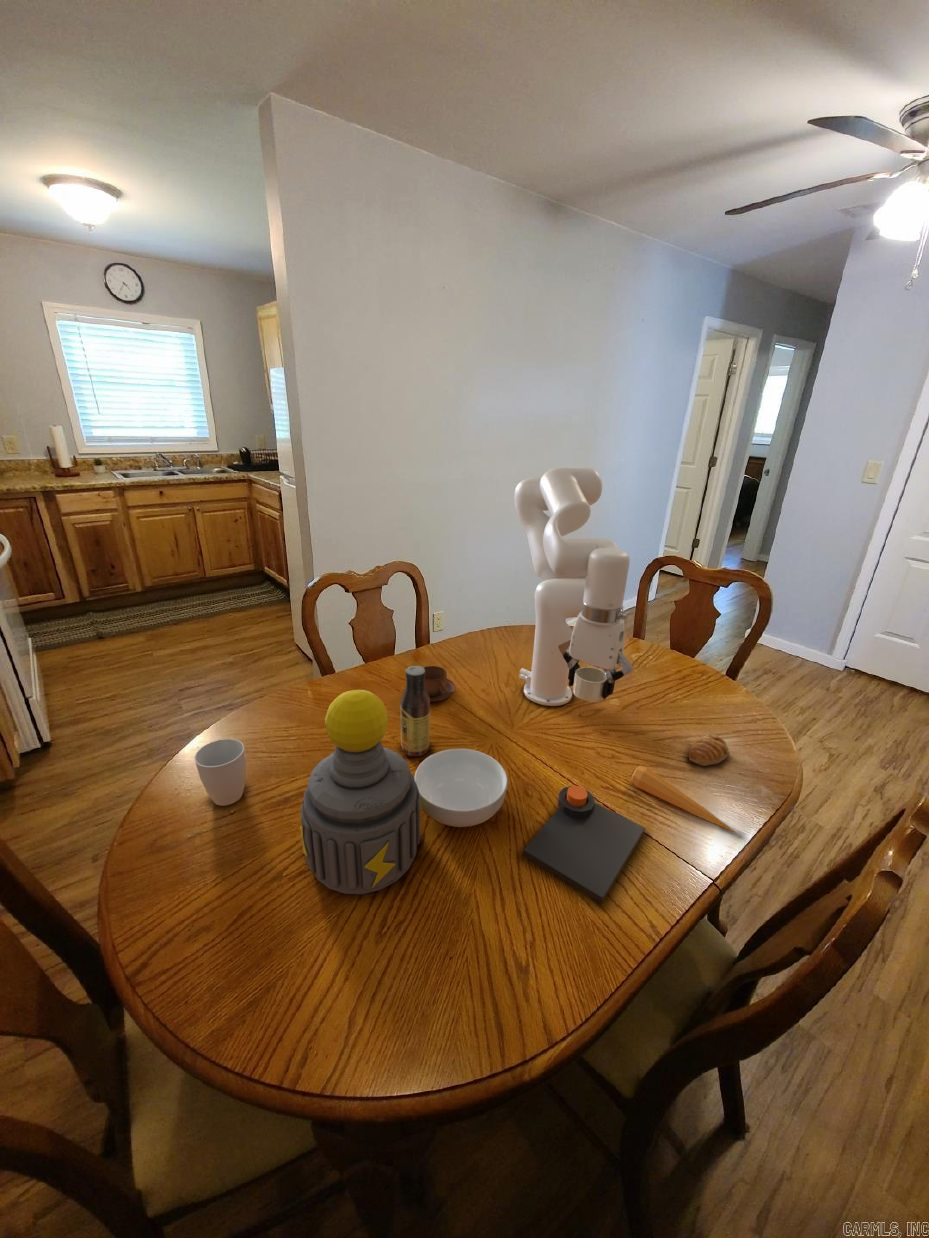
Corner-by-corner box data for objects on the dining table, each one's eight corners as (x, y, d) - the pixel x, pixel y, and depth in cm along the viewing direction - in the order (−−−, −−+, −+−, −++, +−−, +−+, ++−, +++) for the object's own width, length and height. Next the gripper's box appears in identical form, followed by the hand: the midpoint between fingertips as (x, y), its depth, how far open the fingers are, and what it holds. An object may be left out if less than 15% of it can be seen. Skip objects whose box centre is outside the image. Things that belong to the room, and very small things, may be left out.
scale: (516, 851, 84) (517, 838, 83) (567, 793, 97) (568, 781, 96) (601, 904, 75) (604, 890, 74) (644, 832, 89) (647, 819, 88)
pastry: (709, 773, 104) (713, 758, 103) (679, 757, 109) (682, 742, 108) (730, 756, 110) (734, 742, 108) (700, 742, 114) (704, 727, 113)
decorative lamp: (398, 796, 95) (395, 655, 84) (439, 872, 80) (442, 711, 68) (295, 828, 87) (276, 677, 75) (319, 920, 71) (300, 747, 60)
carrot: (627, 786, 101) (628, 774, 98) (638, 770, 103) (639, 758, 100) (729, 848, 89) (735, 838, 86) (740, 829, 91) (745, 817, 88)
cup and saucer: (463, 690, 132) (464, 670, 130) (437, 711, 123) (437, 689, 120) (427, 677, 138) (427, 657, 136) (399, 696, 129) (399, 675, 126)
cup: (260, 787, 96) (253, 744, 92) (229, 816, 89) (220, 771, 85) (226, 777, 98) (218, 734, 95) (193, 804, 91) (183, 760, 88)
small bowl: (567, 693, 105) (569, 675, 104) (581, 681, 110) (583, 663, 108) (597, 705, 101) (600, 686, 100) (610, 692, 106) (613, 673, 105)
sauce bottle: (401, 741, 111) (400, 661, 104) (429, 740, 112) (430, 661, 104) (400, 759, 105) (398, 676, 97) (430, 759, 106) (431, 676, 98)
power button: (563, 800, 92) (564, 793, 91) (572, 790, 94) (573, 782, 94) (580, 809, 90) (582, 802, 89) (589, 799, 92) (590, 791, 92)
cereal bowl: (437, 855, 83) (437, 822, 80) (401, 792, 96) (400, 762, 93) (522, 822, 90) (525, 791, 87) (478, 767, 104) (479, 739, 101)
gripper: (651, 617, 97) (636, 697, 103) (570, 596, 106) (561, 670, 113) (637, 629, 91) (622, 712, 98) (553, 605, 101) (544, 682, 108)
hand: (589, 689), depth 105 cm, fingers closed on small bowl, 6 cm apart
